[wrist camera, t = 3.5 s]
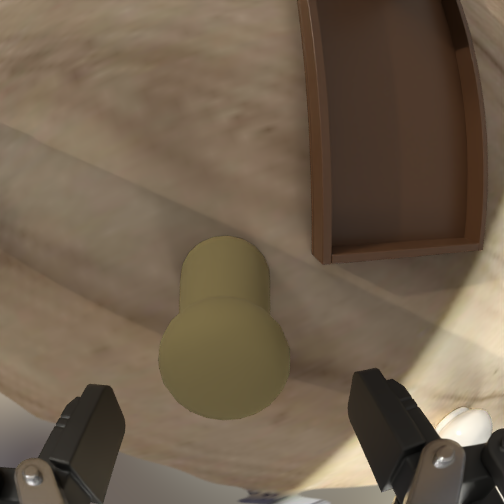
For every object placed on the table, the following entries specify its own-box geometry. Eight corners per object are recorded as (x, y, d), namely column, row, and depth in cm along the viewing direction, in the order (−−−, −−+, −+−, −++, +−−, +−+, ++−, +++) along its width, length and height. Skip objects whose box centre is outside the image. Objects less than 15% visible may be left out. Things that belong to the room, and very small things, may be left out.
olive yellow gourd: (169, 248, 20) (111, 333, 9) (258, 225, 20) (294, 291, 9) (195, 327, 21) (176, 447, 11) (278, 308, 21) (318, 421, 11)
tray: (311, 253, 20) (322, 265, 18) (278, -104, 11) (282, -119, 9) (464, 242, 21) (482, 250, 19) (411, -73, 12) (421, -83, 10)
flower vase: (381, 475, 30) (440, 608, 6) (457, 371, 25) (581, 519, 1) (441, 461, 32) (503, 564, 8) (507, 369, 27) (607, 471, 3)
